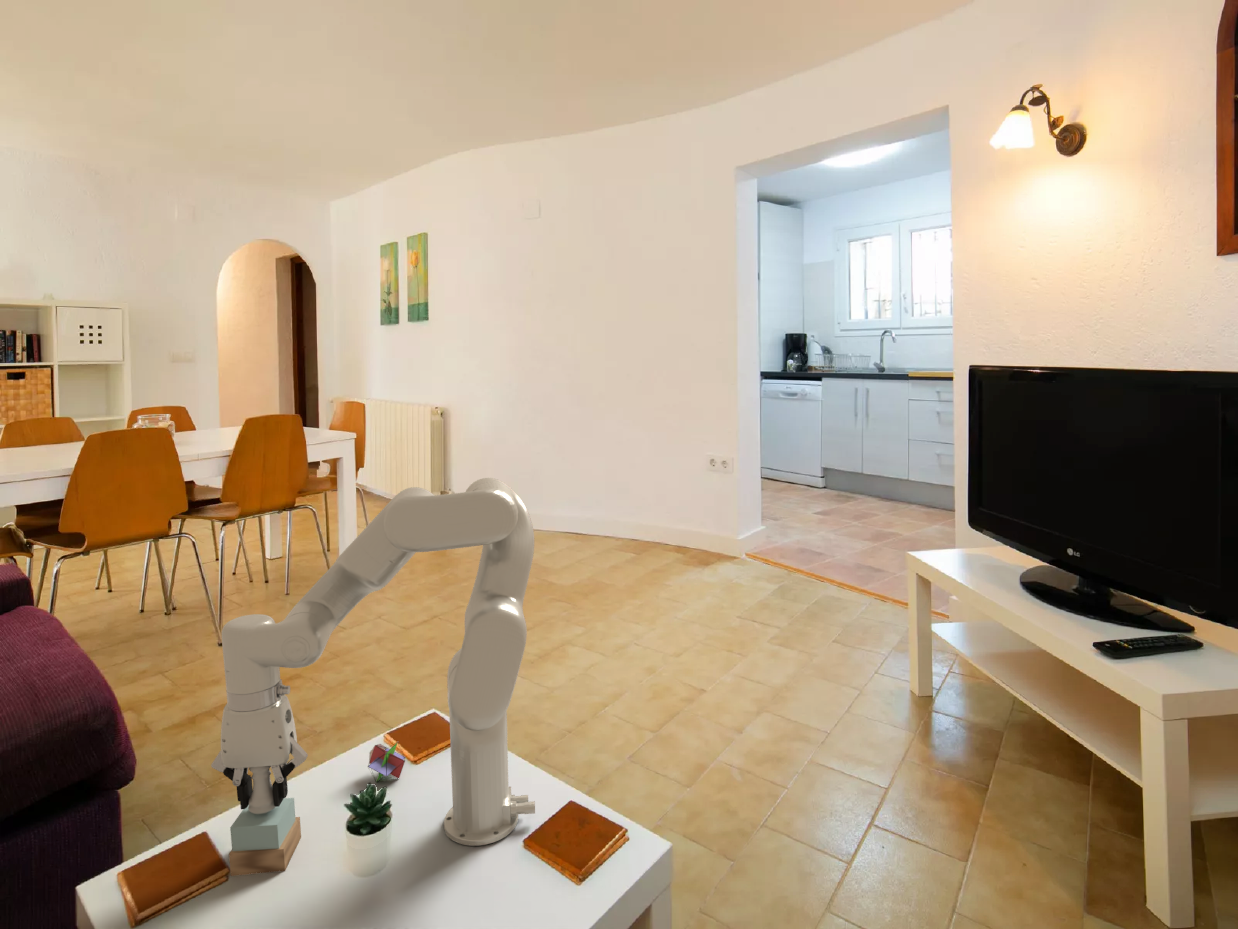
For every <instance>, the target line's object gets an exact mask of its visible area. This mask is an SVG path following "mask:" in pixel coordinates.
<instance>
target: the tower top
mask: <svg viewBox="0 0 1238 929" xmlns="http://www.w3.org/2000/svg"><path fill="white" fill-rule="evenodd" d="M248 807H249V805H248V806H247V808H245V809H241V810H242V811H241V812H240V813H239V814H238V816H237V817H236V819H235V820H234V821H233V823H232V824H231V826H230V827H229V828H230V830H229V831H230V841H231V850H232V851H246V850H263V849H279V848H280V846H281V844H282V843H283V841H284V839H285V837H286V836H287V834H288V832H289V830H290V829H291V827H292V825H293V824H294V822H295V820H296V819H295V817H296V809H295V808H296V807H295V797H286V798H284V799H283V801H282V802H281V804H280V806H279V807H275V808H274V809H273V810H271V811H270V812H267V813H264V814H253V813H251V812H250V811H249V809H248Z"/></svg>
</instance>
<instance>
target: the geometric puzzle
mask: <svg viewBox="0 0 1238 929" xmlns="http://www.w3.org/2000/svg"><path fill="white" fill-rule="evenodd" d="M385 744H388V742H385ZM397 746H399V749H400V752H401V753H402V755H401V754H400V753H398V752H396V748H397ZM390 747H391V748H390ZM368 758H369V760H368V765H367V768H368V770H369V771H370V773H371V775H372V777H373V779H374V780H375V783H379V782H381V783H382V782H383V780H384V779H385V778H388V777H389V778H391V779H394V778H395V780H399V779H400V777H401V774H402V771H403V768H404V765H405V763H406V756H405V755H404V752H403V750H402V748H401V745H400V743H399V741H397V742H392V745H390V746H388V747H387V746H385V745H384V744H382V743H378V744H374V746H373V747H372V748H371V750H370V751H369V756H368ZM371 771H375V772H377V773H378V775H377V778H375V776H374V774H373V772H371ZM389 775H391V776H389ZM383 776H384V777H383ZM392 776H393V777H392ZM398 778H399V779H398ZM387 781H389V780H386V782H387Z"/></svg>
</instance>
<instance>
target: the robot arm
mask: <svg viewBox="0 0 1238 929" xmlns="http://www.w3.org/2000/svg"><path fill="white" fill-rule="evenodd" d="M528 510H529V509H528V508H527V507H526V504H525V503H524V501H523V500H522V498H520V496H519V495H518V494H517V493H516V492H515V490H513V489H512V487H510V486H509V485H508V484H506V483H505V482H503V481H502V480H499V479H496V478H493V477H483V478H480V479H477V480H475V481H473V482H472V483H471V484H469V486H468V487H467V489H466V490H465V492H464V491H463V492H456V493H455V492H454V493H449V494H448V493H446V494H437V495H435V494H434V493H432V492H431V491H430V490H429V489H425V488H422V487H418V486H414V487H413V486H412V487H408V488H405V489H402V490H401V491H400V492H398V493H397V494H396V495H394V496H393V498H392V499H390V501H389V502H388V503H387V504H386V505H385V507H384V508H382V510H380V512H378V513H377V515H376V516H375V517H374V518H373V519H372V520H371V522H369V524H367V526H366V527H365V528H364V529H363V530H362V531H361V532H360V534H358V536H356V538H354V540H353V541H352V542H351V543H350V544H349V545H348V546H347V547H346V548H345V549H344V551H343V552H342V553H341V554H340V555H339V556H338V557H337V559H336V560H335V562H334V563H332V565H331V566H330V568H329V569H327V570H326V572H325V573H324V574H323V575H322V576H321V577H320V578H319V579H318V580H317V581H316V582H315V583H314V584H313V585H312V587H311V588H310V589H309V590H308V591H307V592H306V593H305V594H304V595H303V597H301V598H300V599H299V600H298V602H297V603H296V604H294V606H293V608H292V609H291V610H290V611H289V613H288V614H286V617H285V618H284V619H283V620H281V621H279V622H276V621H275V620H274V618H273V617H271V616H269V615H267V614H263V613H262V614H260V613H257V614H256V613H255V614H245V615H241V616H238V617H235V618H233V619H231V620H229V621H227V622H226V623H225V624H224V626H222V630H221V644H222V645H221V646H222V656H223V668H224V677H225V678H224V679H225V691H226V702H227V703H226V704H225V706H224V707H223V710H222V716H221V726H220V727H221V730H220V751H219V752H218V754H217V755H216V756H215V758H214V760H213V762H212V763H211V764H210V766H211V768H212V769H214V770H216V771H218V772H220V773H222V774H223V775H224V776H225V778H228V779H229V780H230V781H232V785H233V786H234V787H236V795H237V802H240V810H243V809H245V808H247V806H248V805H249V804H248V802H249V798H250V797H251V794H252V792H253V779H252V775H251V774H249V773H248V772H249V768H251V767H265V766H271V767H270V768H271V773H272V774H273V777H274V781H273V783H272V789H273V801H274V806H275V807H279V806H280V804H281V802H282V801H283V799H284V798H287V796H288V792H289V791H288V790H289V789H288V776H289V775H290V774H291V773H292V772H293V771H294V770H295V769H296V768H297V767H299V766H301V765H302V764H304V763H305V761H307V758H308V753H307V751H305V749H304V748H303V747H302V746H301V745H300V744H299V743H298V739H297V738H298V737H297V731H296V730H297V729H296V724H295V718H294V714H293V710H292V706H291V702H290V700H289V697H288V696H287V695H290V693H291V685H285V684H283V679H281V672H280V668H285V669H302V668H307V667H309V666H311V665H313V664H314V663H316V662H317V661H318V660H319V659H320V658H321V656H322V655H323V652H324V651H325V648H326V646H327V644H328V643H329V642H328V641H329V640H330V637H331V635H332V634H333V632H334V631H335V629H336V628H337V627H338V626H339V624H340V623H342V621H343V620H344V619H345V618H346V617H347V615H349V614H350V612H352V610H353V609H354V608H355V607H356V606H357V605H359V603H360V602H361V601H362V600H363V599H364V598H366V597H368V595H369V594H372V593H374V592H378V591H380V590H382V589H384V588H385V587H386V586H387V585H388V584H389V583H390V582H391V581H392V580H393V578H394V577H396V575H397V574H398V573H399V572H400V570H402V569H403V567H405V565H406V564H407V563H408V562H409V561H410V560H411V559H412V557H413V556H414V555H415V554H416V553H426V552H438V551H447V550H456V549H463V548H471V547H477V546H482V549H481V555H480V559H479V562H478V563H479V564H478V568H477V573H476V577H475V579H474V583H473V587H472V591H471V595H470V598H469V601H468V604H467V606H466V609H465V611H464V636H463V641H462V645H461V647H460V649H459V650H457V651H456V652H455V653H454V655H453V657H452V658H451V660H450V662H449V665H448V668H447V674H446V675H447V680H446V682H447V686H446V687H447V706H448V711H449V734H450V736H449V737H450V741H449V742H450V763H451V764H450V766H451V769H450V770H451V771H450V772H451V792H452V807H451V808H450V809H449V810H448V811H447V812H446V813H445V817H444V819H443V820H444V822H443V827H444V829H443V830H444V832H445V834H446V836H447V837H448V838H449V839H450V840H451V841H454V842H455V843H457V844H460V845H464V846H471V847H475V846H485V845H489V844H492V843H496V842H498V841H500V840H502V839H504V838H506V837H507V836H508V835H509V834H512V832H513V831H514V830H515V828H516V827H517V825H518V823H519V822H518V821H519V815H534V814H536V801H535V800H534V801H533V800H532V801H529V794H524V795H523V794H522V795H515V794H512V786H509V759H508V758H509V755H508V754H509V753H508V752H509V750H508V716H507V715H508V712H507V711H508V709H509V707H510V703H511V700H512V698H513V693H514V690H515V687H516V682H517V679H518V677H519V672H520V668H521V664H522V661H523V657H524V653H525V649H526V644H527V634H528V630H527V629H528V628H527V621H526V618H525V615H524V609H523V606H524V601H525V600H524V599H525V595H526V592H527V587H528V582H529V578H530V574H531V573H530V572H531V569H532V565H533V558H534V553H535V552H534V551H535V533H534V532H535V531H534V525H533V522H532V519H531V516H530V513H529V511H528ZM290 755H292V757H293V758H291V759H290Z"/></svg>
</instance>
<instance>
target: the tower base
mask: <svg viewBox="0 0 1238 929" xmlns="http://www.w3.org/2000/svg"><path fill="white" fill-rule="evenodd" d="M295 819H296V820H295V822H294V824H293V825H292V827H291V829H290V830H289V832H288V834H287V836H286V837H285V839H284V841H283V843H282V844H281V846H280V848H279V849H263V850H246V851H232V849H231V850H230V851H229V853H228V858H229V859H228V860H229V868H230V877H235V876H244V875H245V876H246V875H247V876H248V875H256V874H257V875H258V874H268V873H278V872H286V870H287V868H288V865H289V864H290V862H291V859H292V858H293V856H294V853H295V851H296V850H297V847H298V845H299V843H300V841H301V839H302V830H301V829H302V827H301V817H300V816H295Z"/></svg>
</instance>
